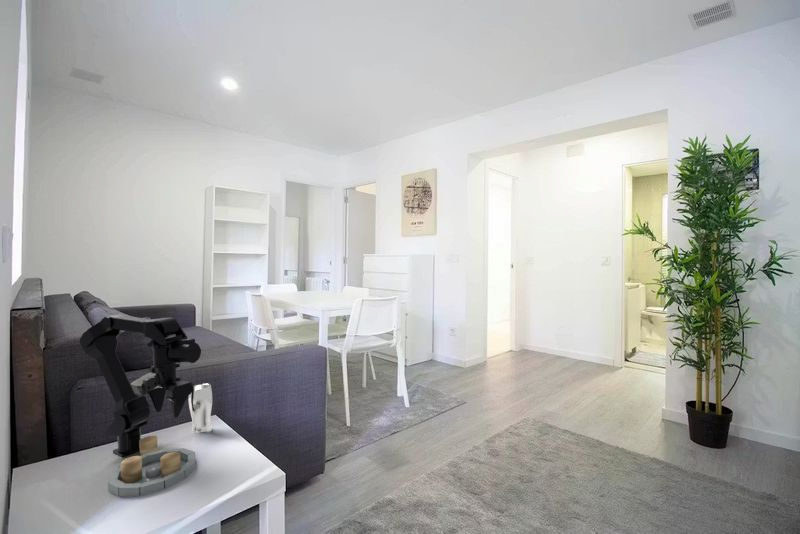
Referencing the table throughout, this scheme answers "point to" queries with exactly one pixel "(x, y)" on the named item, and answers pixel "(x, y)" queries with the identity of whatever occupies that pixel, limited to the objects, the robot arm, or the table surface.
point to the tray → (153, 474)
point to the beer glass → (201, 408)
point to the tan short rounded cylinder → (170, 463)
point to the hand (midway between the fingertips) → (167, 414)
